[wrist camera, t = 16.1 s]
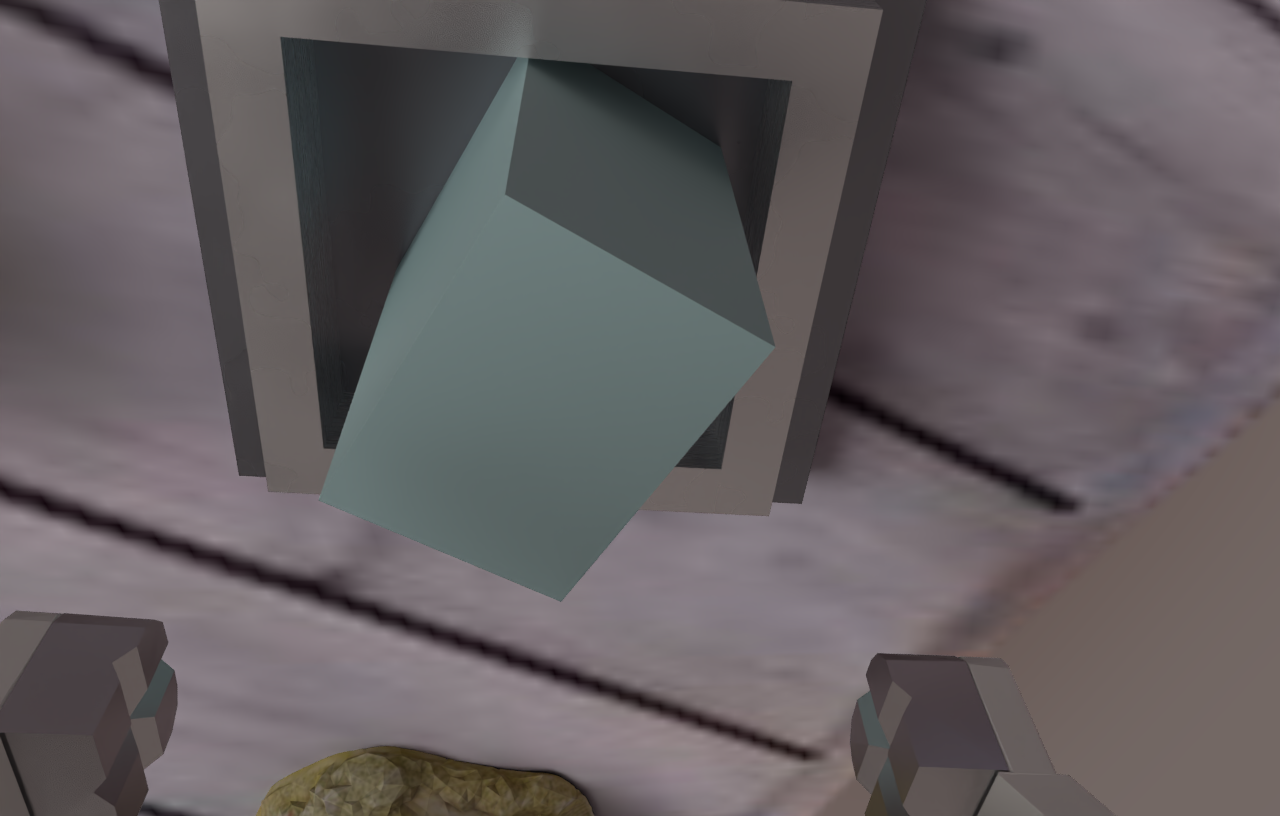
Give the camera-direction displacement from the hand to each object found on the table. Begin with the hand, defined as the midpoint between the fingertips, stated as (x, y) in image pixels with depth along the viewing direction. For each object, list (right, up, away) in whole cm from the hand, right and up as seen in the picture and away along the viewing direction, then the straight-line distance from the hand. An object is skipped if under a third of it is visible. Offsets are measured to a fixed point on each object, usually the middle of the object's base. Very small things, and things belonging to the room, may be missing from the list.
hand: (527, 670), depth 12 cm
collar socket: (-1, +7, +9) cm, 12 cm away
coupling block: (0, +7, +8) cm, 10 cm away
